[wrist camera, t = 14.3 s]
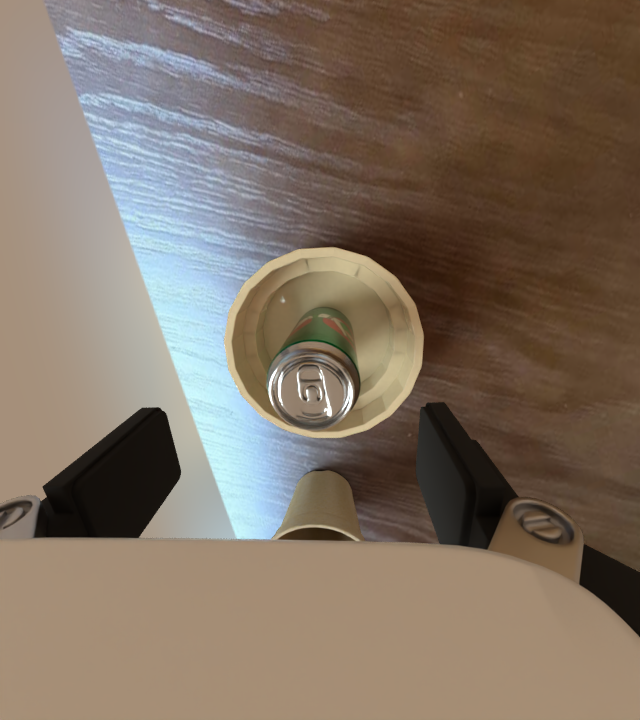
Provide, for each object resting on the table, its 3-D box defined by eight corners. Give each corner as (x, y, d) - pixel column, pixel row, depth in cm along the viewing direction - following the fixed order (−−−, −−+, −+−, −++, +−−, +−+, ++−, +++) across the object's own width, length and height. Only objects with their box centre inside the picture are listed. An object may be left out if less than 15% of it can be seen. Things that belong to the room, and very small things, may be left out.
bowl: (258, 403, 30) (239, 438, 24) (239, 254, 25) (209, 253, 19) (402, 402, 28) (417, 438, 23) (409, 245, 24) (430, 241, 18)
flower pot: (291, 446, 31) (274, 513, 23) (377, 467, 31) (390, 542, 23) (274, 511, 34) (254, 590, 26) (352, 531, 34) (356, 616, 26)
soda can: (298, 362, 27) (267, 438, 16) (293, 307, 25) (254, 347, 14) (354, 360, 27) (363, 436, 15) (352, 303, 25) (361, 343, 14)
